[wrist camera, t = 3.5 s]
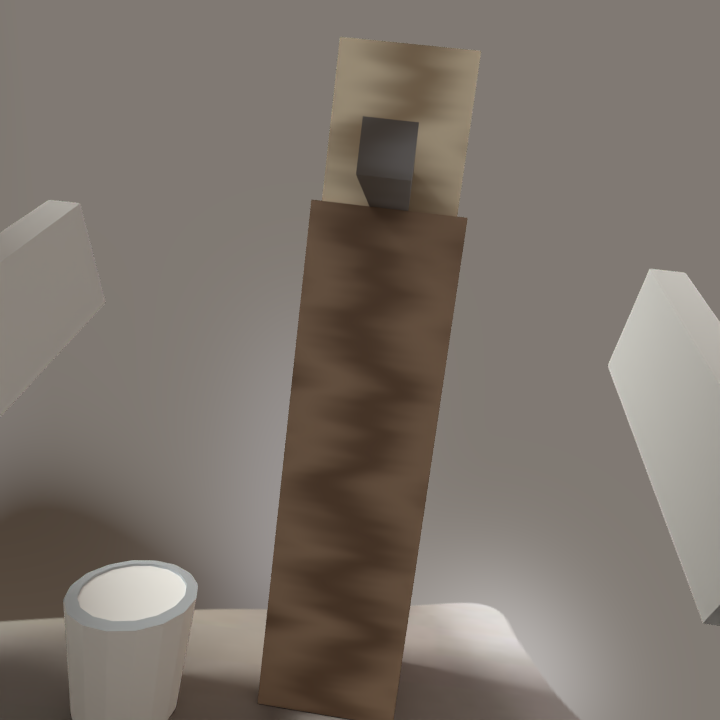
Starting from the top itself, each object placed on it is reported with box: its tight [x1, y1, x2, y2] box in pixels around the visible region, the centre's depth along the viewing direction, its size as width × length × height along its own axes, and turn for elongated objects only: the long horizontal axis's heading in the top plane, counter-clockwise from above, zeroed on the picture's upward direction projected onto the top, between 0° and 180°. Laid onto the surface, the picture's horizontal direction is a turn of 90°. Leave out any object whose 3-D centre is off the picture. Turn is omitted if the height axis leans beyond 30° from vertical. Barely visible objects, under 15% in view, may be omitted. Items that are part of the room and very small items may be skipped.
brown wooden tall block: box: [258, 200, 467, 720], centre depth 33 cm, size 8×6×29 cm
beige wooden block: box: [322, 37, 481, 217], centre depth 26 cm, size 7×14×8 cm, turn 176°
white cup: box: [63, 560, 198, 720], centre depth 31 cm, size 7×7×7 cm
